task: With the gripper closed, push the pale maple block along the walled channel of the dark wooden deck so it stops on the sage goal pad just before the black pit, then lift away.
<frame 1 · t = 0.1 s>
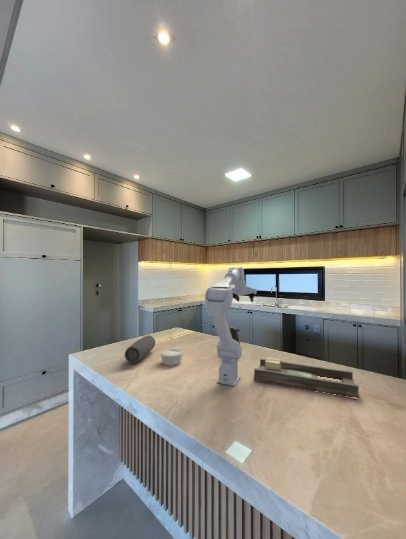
hand: (245, 300, 132), 32 cm above the counter, tool tilted 50°, fingers open, 7 cm apart
maple block: (273, 371, 110), point 2 cm above the counter, touching walled deck
ramekin: (171, 363, 126), on the counter
walled deck: (302, 380, 105), on the counter
pump dispenser: (231, 352, 142), on the counter
bluetooth speaker: (141, 358, 133), on the counter
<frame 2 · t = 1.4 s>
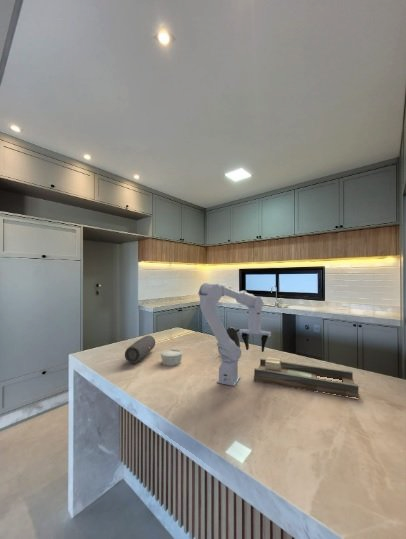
hand: (255, 350, 114), 10 cm above the counter, tool pointing down, fingers open, 7 cm apart
nothing on the counter moved.
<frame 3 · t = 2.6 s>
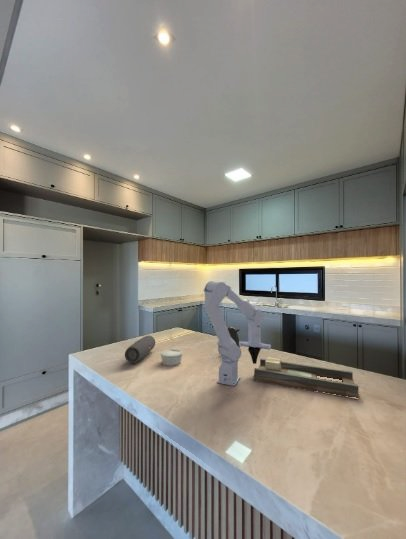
hand: (254, 363, 114), 4 cm above the counter, tool pointing down, fingers closed
nothing on the counter moved.
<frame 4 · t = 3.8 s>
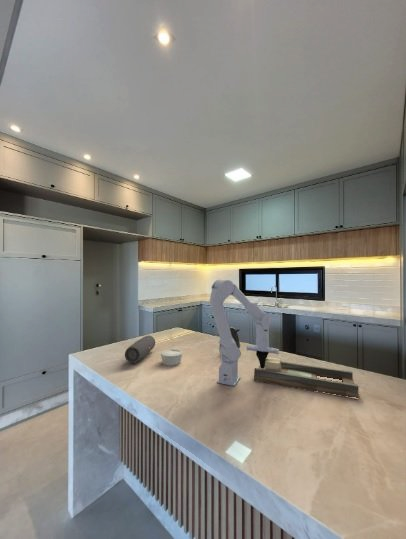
hand: (262, 367, 112), 3 cm above the counter, tool pointing down, fingers closed
maple block: (273, 371, 110), point 2 cm above the counter, touching gripper
everything else where it was.
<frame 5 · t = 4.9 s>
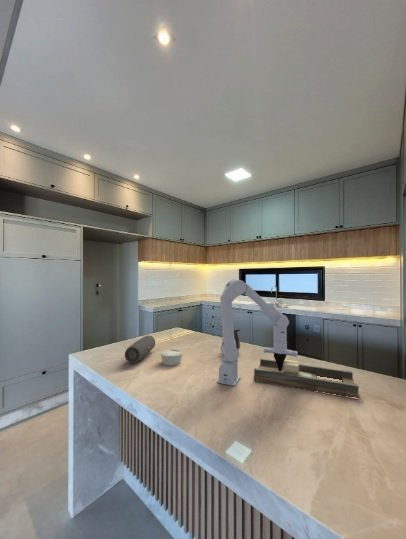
hand: (280, 370, 109), 3 cm above the counter, tool pointing down, fingers closed
maple block: (291, 374, 107), point 2 cm above the counter, touching gripper
everything else where it was.
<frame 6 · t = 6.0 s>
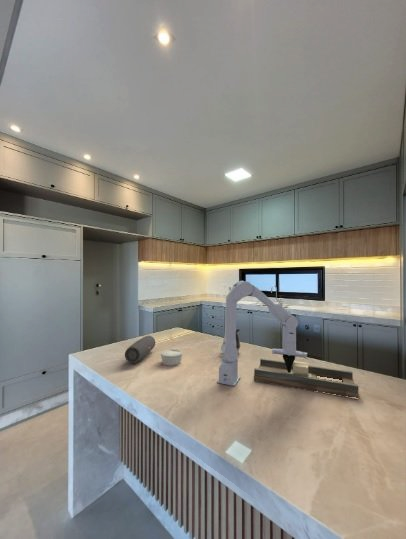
hand: (289, 371, 107), 3 cm above the counter, tool pointing down, fingers closed
maple block: (300, 375, 105), point 2 cm above the counter, touching gripper, walled deck
everything else where it was.
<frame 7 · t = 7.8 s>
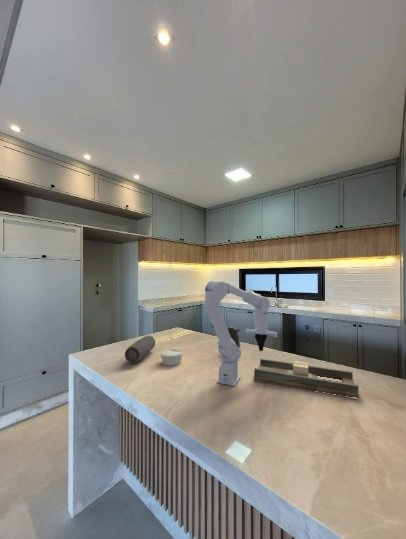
hand: (261, 350, 114), 10 cm above the counter, tool pointing down, fingers closed
maple block: (300, 375, 105), point 2 cm above the counter, touching walled deck
everything else where it was.
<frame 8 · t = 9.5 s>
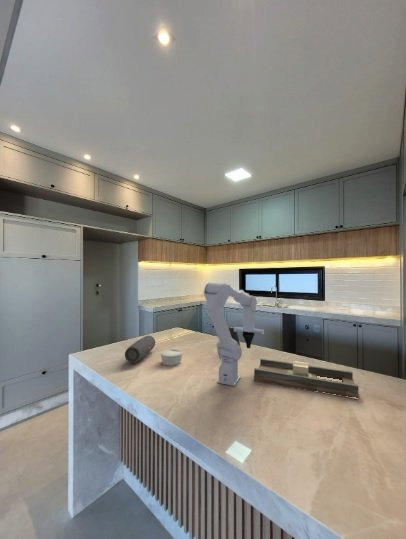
hand: (248, 347, 118), 10 cm above the counter, tool pointing down, fingers closed
nothing on the counter moved.
at the end: maple block inside the target area (0.7 cm from its centre), point 2.0 cm above the counter; maple block tilted 0°; maple block moved 11.7 cm from its start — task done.
